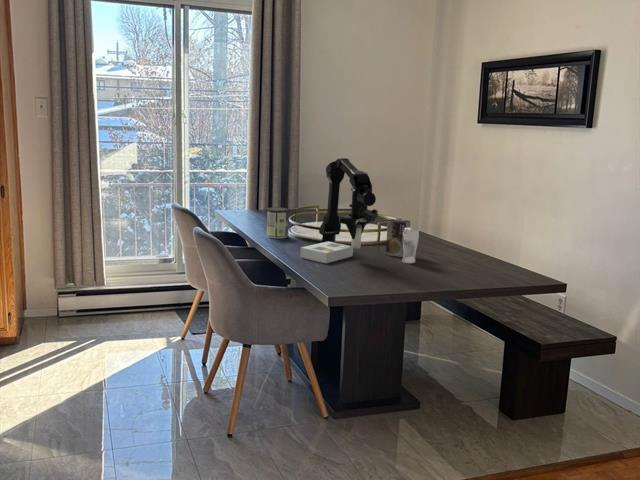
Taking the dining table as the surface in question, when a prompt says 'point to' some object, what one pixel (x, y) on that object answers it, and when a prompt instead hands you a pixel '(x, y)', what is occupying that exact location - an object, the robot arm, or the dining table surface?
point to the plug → (357, 238)
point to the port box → (326, 252)
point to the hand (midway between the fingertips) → (356, 238)
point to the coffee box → (395, 237)
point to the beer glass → (410, 244)
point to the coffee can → (277, 222)
